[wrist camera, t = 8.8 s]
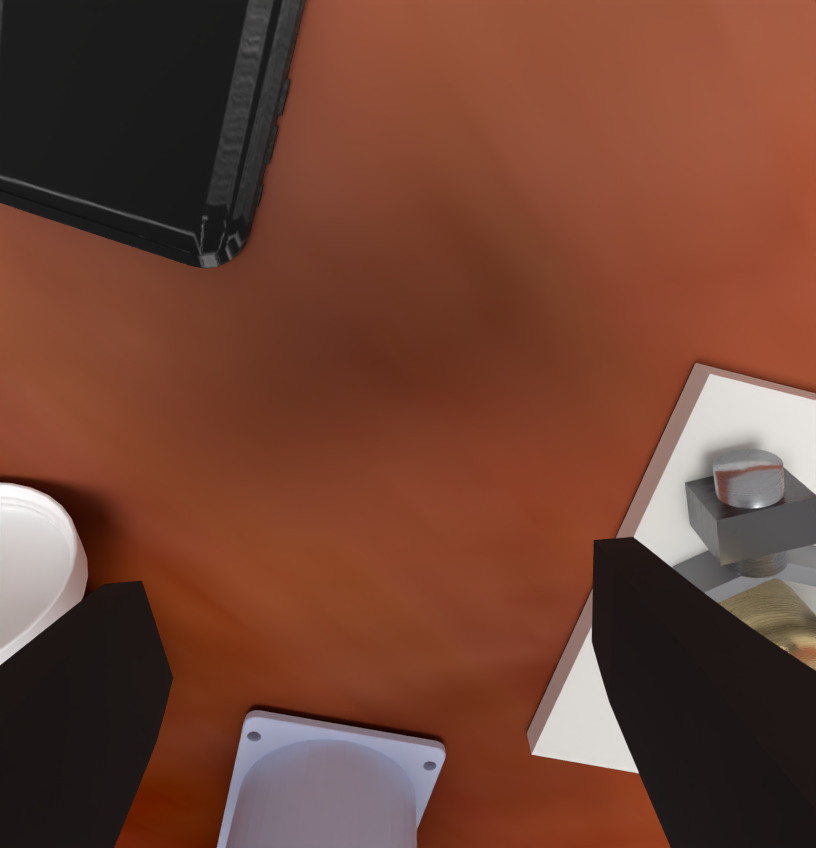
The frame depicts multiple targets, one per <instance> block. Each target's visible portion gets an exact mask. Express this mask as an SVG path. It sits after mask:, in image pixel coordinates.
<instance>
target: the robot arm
mask: <svg viewBox="0 0 816 848" xmlns="http://www.w3.org/2000/svg"><path fill="white" fill-rule="evenodd" d="M592 645H593V649H594V652H595V656H596V659H597V663H598V666H599V670H600V674H601V677H602V680H603V684H604V687H605V690H606V693H607V697H608V700H609V703H610V706H611V708H612V710H613V713H614V715H615V718H616V720H617V722H618V725H619V727H620V730H621V732H622V734H623V737H624V739H625V741H626V744H627V746H628V749H629V751H630V753H631V756H632V758H633V760H634V763H635V765H636V767H637V770H638V772H639V774H640V777H641V779H642V781H643V784H644V786H645V788H646V791H647V793H648V795H649V798H650V800H651V802H652V805H653V807H654V809H655V812H656V814H657V816H658V819H659V821H660V823H661V826H662V828H663V830H664V833H665V835H666V837H667V840H668V842H669V844H670V847H671V848H816V670H814V669H813V668H811V667H809V666H808V665H806V664H805V663H803V662H802V661H800V660H799V659H797V658H796V657H794V656H793V655H791V654H790V653H788V652H787V651H785V650H784V649H782V648H781V647H779V646H778V645H776V644H775V643H773V642H772V641H770V640H769V639H767V638H766V637H764V636H763V635H761V634H760V633H758V632H757V631H756V630H754V629H753V628H751V627H750V626H749V625H747V624H746V623H744V622H743V621H741V620H740V619H739V618H737V617H736V616H735V615H733V614H732V613H731V612H729V611H728V610H726V609H725V608H724V607H722V606H721V605H720V604H718V603H717V602H716V601H714V600H713V599H712V598H710V597H709V596H708V595H706V594H705V593H704V592H703V591H701V590H700V589H699V588H697V587H696V586H695V585H693V584H692V583H691V582H690V581H688V580H687V579H686V578H685V577H683V576H682V575H681V574H680V573H678V572H677V571H676V570H674V569H673V568H672V567H671V566H669V565H668V564H667V563H666V562H664V561H663V560H662V559H661V558H659V557H658V556H657V555H656V554H654V553H653V552H652V551H651V550H649V549H648V548H647V547H646V546H644V545H643V544H642V543H641V542H639V541H638V540H637V539H635V538H634V537H625V538H614V539H602V540H594V555H593V599H592ZM172 680H173V676H172V673H171V670H170V667H169V664H168V661H167V658H166V655H165V652H164V648H163V645H162V642H161V639H160V636H159V633H158V630H157V627H156V624H155V620H154V617H153V614H152V611H151V608H150V605H149V602H148V599H147V595H146V592H145V589H144V586H143V583H142V581H134V582H123V583H112V584H104V585H102V586H101V587H100V588H98V589H97V590H95V591H94V592H92V593H91V594H90V595H88V596H87V597H86V598H84V599H83V600H82V601H80V602H79V603H78V604H76V605H75V606H74V607H73V608H71V609H70V610H69V611H67V612H66V613H65V614H64V615H62V616H61V617H60V618H59V619H57V620H56V621H55V622H54V623H52V624H51V625H50V626H49V627H47V628H46V629H45V630H44V631H42V632H41V633H40V634H39V635H37V636H36V637H35V638H34V639H32V640H31V641H30V642H29V643H27V644H26V645H25V646H24V647H22V648H21V649H20V650H19V651H17V652H16V653H15V654H13V655H12V656H11V657H10V658H8V659H7V660H6V661H5V662H3V663H2V664H1V665H0V848H114V847H115V844H116V842H117V839H118V837H119V834H120V832H121V829H122V827H123V824H124V822H125V819H126V817H127V815H128V812H129V810H130V807H131V805H132V802H133V800H134V797H135V795H136V792H137V790H138V787H139V785H140V782H141V780H142V777H143V775H144V772H145V770H146V767H147V764H148V762H149V759H150V757H151V754H152V752H153V749H154V746H155V744H156V741H157V738H158V734H159V731H160V727H161V723H162V720H163V716H164V713H165V708H166V704H167V700H168V696H169V692H170V688H171V684H172ZM254 732H258V733H254ZM445 756H446V753H445V747H444V745H443V744H442V743H440V742H438V741H434V740H428V739H422V738H417V737H411V736H405V735H399V734H393V733H388V732H382V731H376V730H370V729H365V728H359V727H353V726H347V725H341V724H336V723H330V722H324V721H318V720H313V719H307V718H301V717H295V716H289V715H284V714H278V713H272V712H266V711H261V710H255V711H251V712H249V713H248V714H247V715H246V717H245V720H244V724H243V728H242V733H241V737H240V742H239V747H238V751H237V756H236V761H235V765H234V770H233V775H232V779H231V784H230V789H229V793H228V798H227V803H226V807H225V812H224V817H223V821H222V826H221V831H220V835H219V840H218V844H217V848H417V828H418V826H419V823H420V821H421V818H422V816H423V813H424V811H425V808H426V806H427V803H428V801H429V798H430V796H431V793H432V791H433V788H434V785H435V783H436V780H437V778H438V775H439V773H440V770H441V768H442V765H443V763H444V760H445ZM428 761H432V762H428Z"/></svg>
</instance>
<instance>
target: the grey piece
mask: <svg viewBox="0 0 816 848" xmlns="http://www.w3.org/2000/svg"><path fill="white" fill-rule="evenodd" d="M713 473H714V476H710V477H706V478H702V479H697V480H693V481H689V482H685V489H686V497H687V505H688V514H689V522H690V525H691V527H692V528H693V529H694V531H695V532H696V533H697V535H698V536H699V537H700V539H701V540H702V541H703V543H704V544H705V545H706V547H707V548H708V549H709V551H710V552H711V553H712V555H713V556H714V557H715V559H716V560H717V561H718V563H719V564H720V565H721V566H722V565H725V566H726V568H727V569H729V570H730V571H732V572H733V573H735V574H738V575H741V576H744V577H749V578H766V577H771V576H774V575H777V574H779V573H780V572H782V571H783V570H784V569H785V568H786V566H787V564H788V555H787V550H792V549H796V548H801V547H805V546H809V545H814V544H816V495H815V494H814V493H813V492H812V491H811V490H810V489H808V488H807V487H806V486H805V485H804V484H803V483H802V482H800V481H799V480H798V479H797V478H796V477H795V476H793V475H792V474H791V473H790V472H789V471H788V470H786V469H785V468H784V467H783V462H782V460H781V458H780V457H778V456H777V455H775V454H773V453H771V452H768V451H764V450H758V449H740V450H734V451H730V452H727V453H725V454H722V455H721V456H719V457H718V458H717V459H716V460H715V461H714V463H713Z"/></svg>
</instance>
